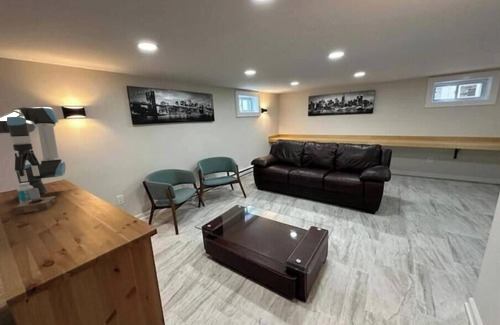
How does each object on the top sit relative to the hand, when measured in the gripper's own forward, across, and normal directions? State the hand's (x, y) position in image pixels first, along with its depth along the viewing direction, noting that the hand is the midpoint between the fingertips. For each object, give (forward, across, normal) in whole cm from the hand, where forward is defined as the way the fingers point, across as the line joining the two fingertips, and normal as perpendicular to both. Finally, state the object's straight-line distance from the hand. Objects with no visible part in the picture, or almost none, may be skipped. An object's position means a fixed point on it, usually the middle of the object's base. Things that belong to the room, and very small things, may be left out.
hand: (31, 178), depth 125 cm
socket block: (+19, +1, 0) cm, 19 cm away
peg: (+19, +1, 0) cm, 19 cm away
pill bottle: (+19, -13, -10) cm, 25 cm away
